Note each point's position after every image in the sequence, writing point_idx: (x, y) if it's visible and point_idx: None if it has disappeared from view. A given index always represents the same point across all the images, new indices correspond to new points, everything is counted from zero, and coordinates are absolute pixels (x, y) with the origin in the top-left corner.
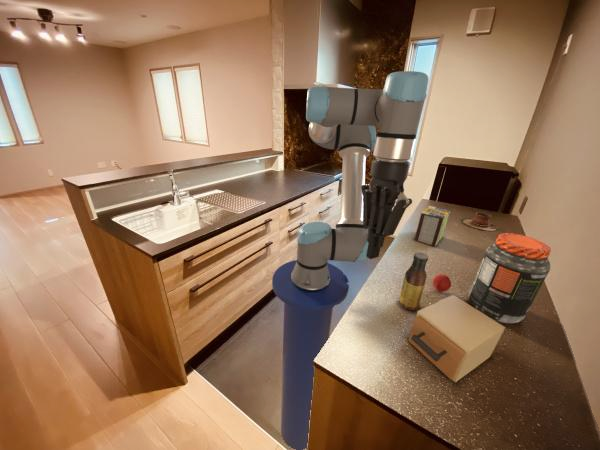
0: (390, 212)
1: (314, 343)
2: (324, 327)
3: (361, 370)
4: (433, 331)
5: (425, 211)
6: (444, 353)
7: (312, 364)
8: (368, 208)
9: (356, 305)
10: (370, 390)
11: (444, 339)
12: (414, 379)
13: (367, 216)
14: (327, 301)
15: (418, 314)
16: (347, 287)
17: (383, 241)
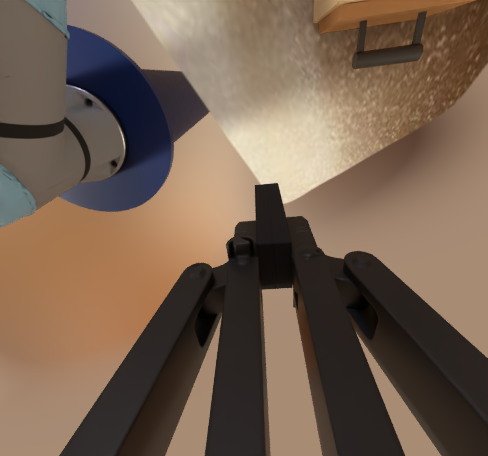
0: (378, 406)
1: (178, 120)
2: (165, 105)
3: (315, 162)
4: (395, 12)
5: None
6: (424, 22)
7: (188, 113)
8: (177, 407)
9: (189, 80)
10: (342, 167)
11: (427, 6)
12: (371, 88)
13: (203, 351)
14: (160, 132)
15: (340, 4)
16: (115, 53)
17: (311, 235)
